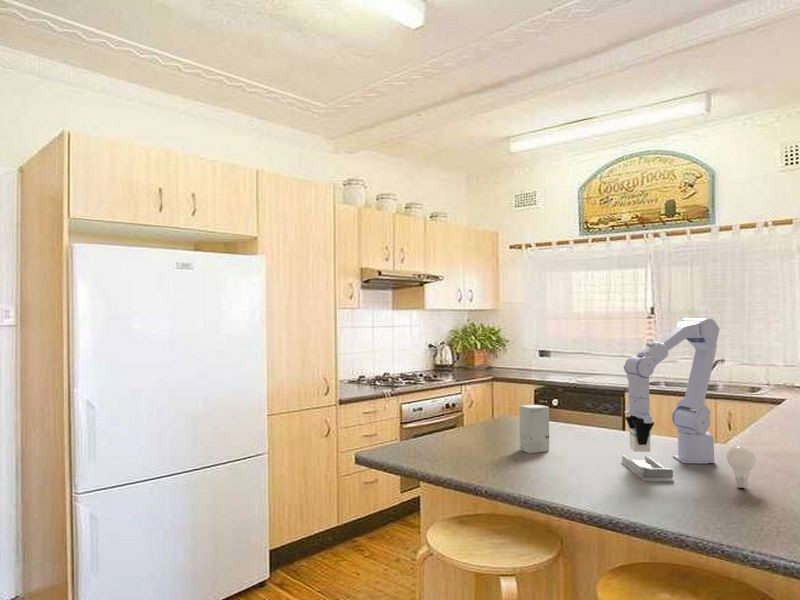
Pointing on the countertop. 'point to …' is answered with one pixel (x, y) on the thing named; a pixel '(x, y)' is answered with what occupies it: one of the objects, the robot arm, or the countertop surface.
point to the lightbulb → (741, 464)
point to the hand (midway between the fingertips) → (639, 442)
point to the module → (634, 442)
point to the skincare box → (534, 428)
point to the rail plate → (648, 469)
